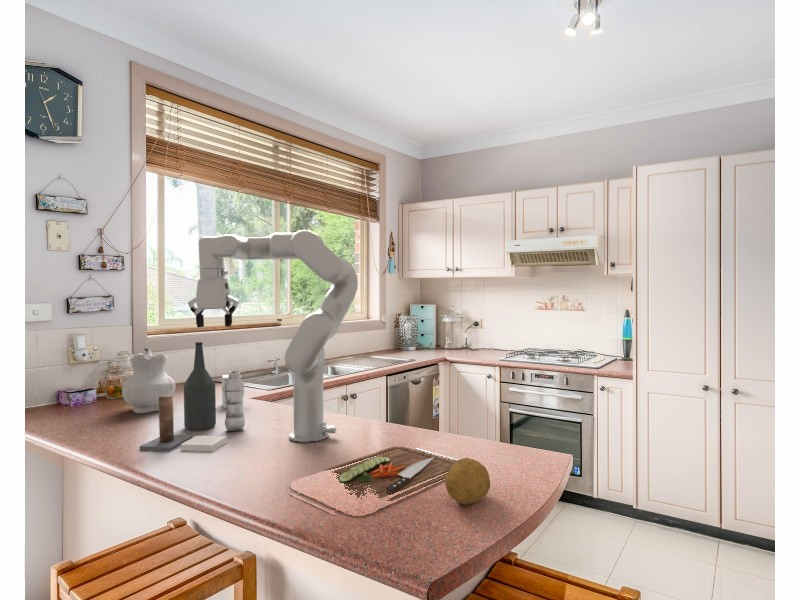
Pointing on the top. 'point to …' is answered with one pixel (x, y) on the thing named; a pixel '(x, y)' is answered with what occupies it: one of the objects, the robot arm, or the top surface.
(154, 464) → the top surface
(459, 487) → the potato
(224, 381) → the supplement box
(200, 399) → the bottle
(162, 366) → the ceramic pitcher
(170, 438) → the dowel
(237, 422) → the plastic bottle
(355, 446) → the top surface
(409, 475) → the chopping board
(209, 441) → the tile
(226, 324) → the robot arm
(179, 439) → the mat
